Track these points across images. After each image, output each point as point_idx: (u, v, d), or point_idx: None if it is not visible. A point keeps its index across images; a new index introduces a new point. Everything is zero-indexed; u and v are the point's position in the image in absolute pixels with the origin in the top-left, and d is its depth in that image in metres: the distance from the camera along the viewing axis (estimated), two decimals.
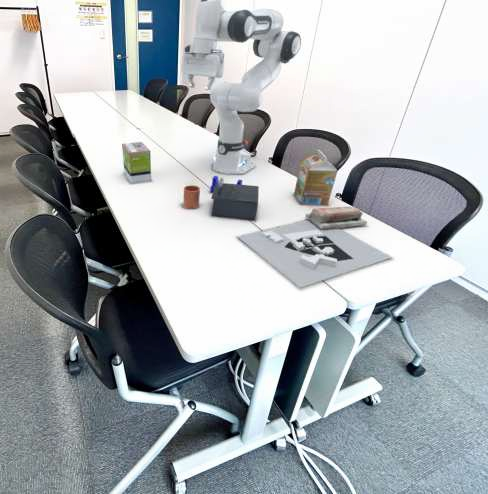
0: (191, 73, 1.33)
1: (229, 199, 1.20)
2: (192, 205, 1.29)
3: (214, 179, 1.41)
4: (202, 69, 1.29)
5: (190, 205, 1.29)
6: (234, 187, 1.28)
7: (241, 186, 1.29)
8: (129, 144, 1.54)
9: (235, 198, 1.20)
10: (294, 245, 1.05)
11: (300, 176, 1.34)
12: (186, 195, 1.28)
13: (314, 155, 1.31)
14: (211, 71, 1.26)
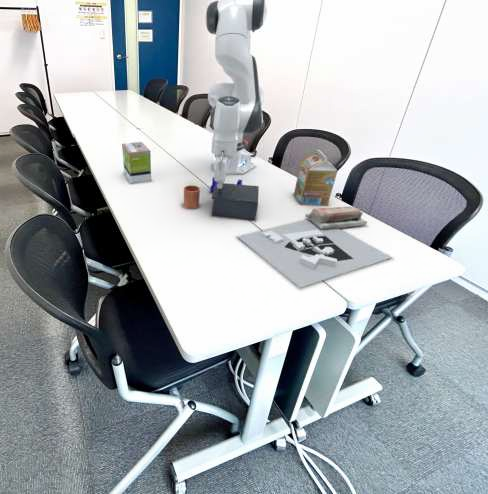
0: None
1: (229, 199, 1.20)
2: (192, 205, 1.29)
3: None
4: None
5: (190, 205, 1.29)
6: (234, 187, 1.28)
7: (241, 186, 1.29)
8: (129, 144, 1.54)
9: (235, 198, 1.20)
10: (294, 245, 1.05)
11: (300, 176, 1.34)
12: (186, 195, 1.28)
13: (314, 155, 1.31)
14: None
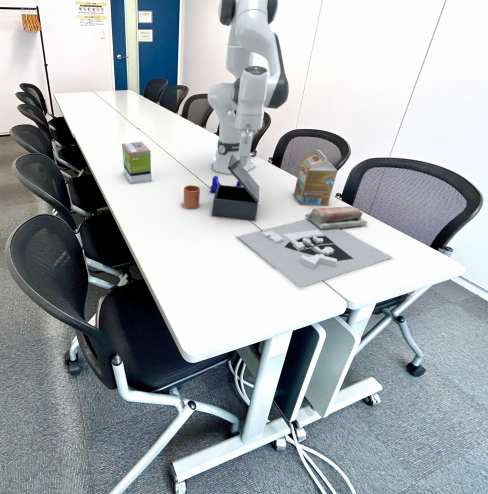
0: None
1: (240, 181, 1.15)
2: (192, 205, 1.29)
3: (214, 179, 1.41)
4: None
5: (190, 205, 1.29)
6: (244, 172, 1.24)
7: (248, 175, 1.26)
8: (129, 144, 1.54)
9: (244, 184, 1.16)
10: (294, 245, 1.05)
11: (300, 176, 1.34)
12: (186, 195, 1.28)
13: (314, 155, 1.31)
14: None
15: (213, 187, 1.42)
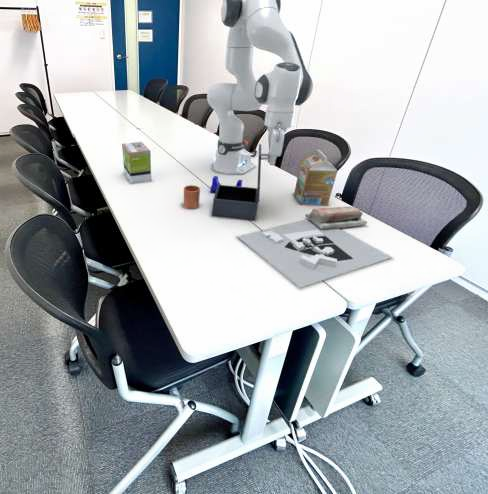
0: None
1: (259, 175, 1.12)
2: (192, 205, 1.29)
3: (214, 179, 1.41)
4: (269, 142, 1.11)
5: (190, 205, 1.29)
6: None
7: None
8: (129, 144, 1.54)
9: None
10: (294, 245, 1.05)
11: (300, 176, 1.34)
12: (186, 195, 1.28)
13: (314, 155, 1.31)
14: (269, 147, 1.07)
15: (213, 187, 1.42)
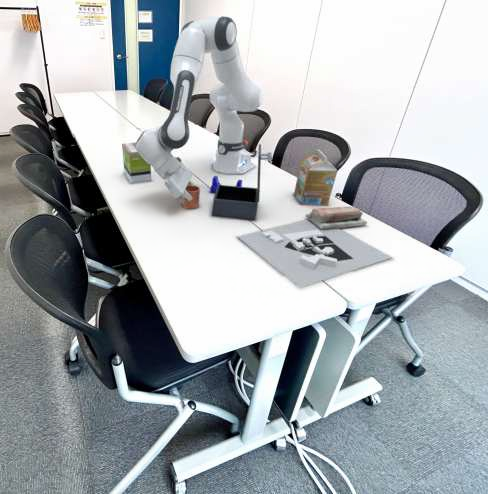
0: None
1: (259, 175, 1.12)
2: (192, 205, 1.29)
3: (214, 179, 1.41)
4: None
5: (190, 205, 1.29)
6: None
7: None
8: (129, 144, 1.54)
9: (259, 180, 1.14)
10: (294, 245, 1.05)
11: (300, 176, 1.34)
12: None
13: (314, 155, 1.31)
14: None
15: (213, 187, 1.42)
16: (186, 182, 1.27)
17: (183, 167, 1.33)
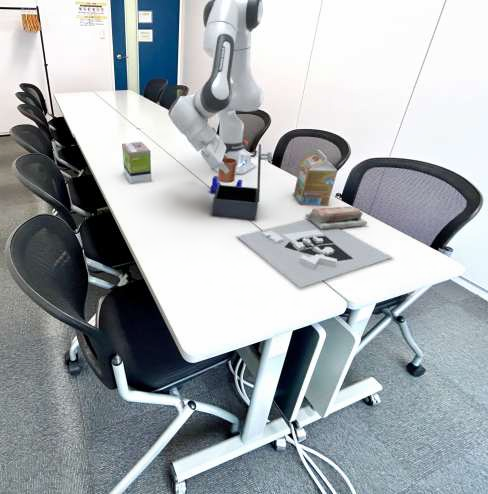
0: None
1: (259, 175, 1.12)
2: (228, 178, 1.20)
3: (214, 179, 1.41)
4: None
5: (226, 179, 1.20)
6: None
7: None
8: (129, 144, 1.54)
9: (259, 180, 1.14)
10: (294, 245, 1.05)
11: (300, 176, 1.34)
12: None
13: (314, 155, 1.31)
14: None
15: (213, 187, 1.42)
16: (222, 153, 1.18)
17: (217, 139, 1.24)
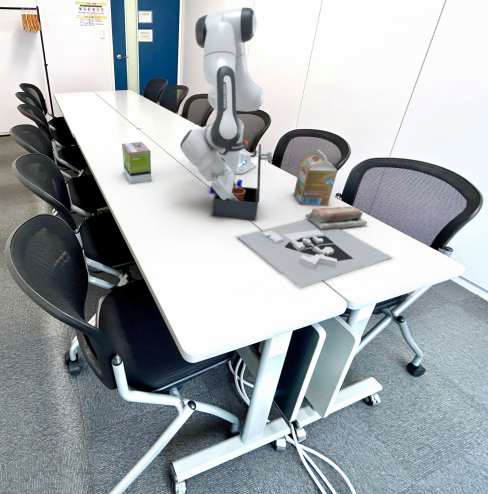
0: None
1: (259, 175, 1.12)
2: None
3: None
4: None
5: None
6: None
7: None
8: (129, 144, 1.54)
9: (259, 180, 1.14)
10: (294, 245, 1.05)
11: (300, 176, 1.34)
12: None
13: (314, 155, 1.31)
14: None
15: None
16: (232, 183, 1.23)
17: (227, 168, 1.29)
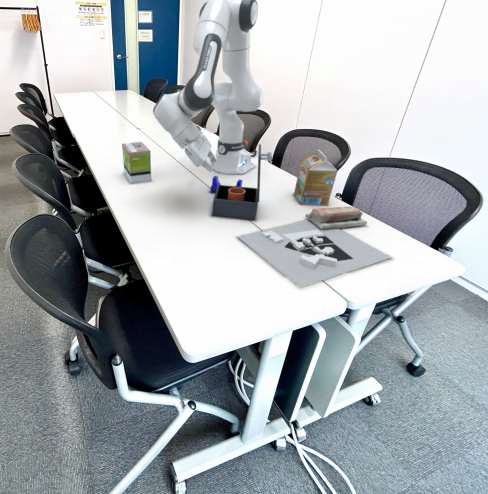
0: None
1: (259, 175, 1.12)
2: None
3: (214, 179, 1.41)
4: None
5: None
6: None
7: None
8: (129, 144, 1.54)
9: (259, 180, 1.14)
10: (294, 245, 1.05)
11: (300, 176, 1.34)
12: (231, 198, 1.24)
13: (314, 155, 1.31)
14: None
15: (213, 187, 1.42)
16: (207, 151, 1.19)
17: (202, 137, 1.25)
